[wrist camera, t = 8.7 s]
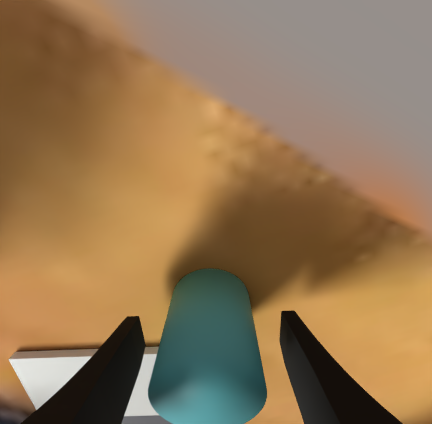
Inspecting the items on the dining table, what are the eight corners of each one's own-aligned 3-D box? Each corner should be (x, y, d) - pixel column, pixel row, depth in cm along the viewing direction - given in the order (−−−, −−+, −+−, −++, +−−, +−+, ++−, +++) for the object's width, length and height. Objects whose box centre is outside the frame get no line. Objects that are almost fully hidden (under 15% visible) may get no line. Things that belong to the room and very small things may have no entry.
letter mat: (15, 351, 15) (8, 359, 14) (229, 343, 14) (230, 351, 14) (74, 465, 20) (71, 473, 19) (234, 461, 19) (235, 469, 19)
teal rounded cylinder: (167, 270, 12) (138, 356, 8) (248, 266, 12) (269, 352, 8) (176, 330, 14) (157, 432, 9) (249, 327, 14) (265, 429, 9)
